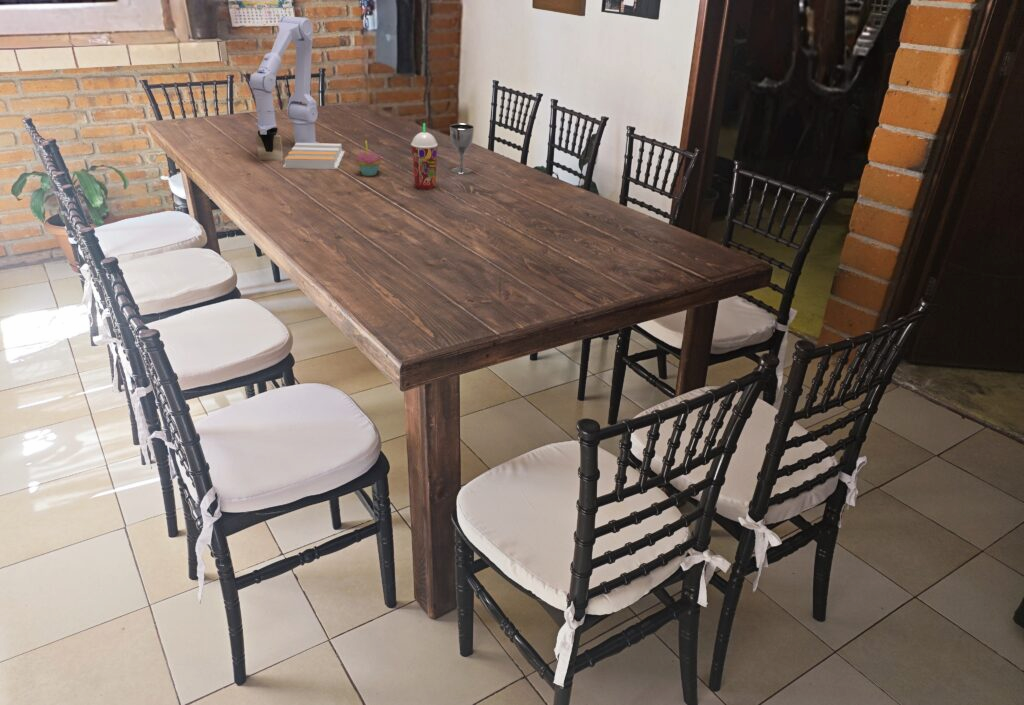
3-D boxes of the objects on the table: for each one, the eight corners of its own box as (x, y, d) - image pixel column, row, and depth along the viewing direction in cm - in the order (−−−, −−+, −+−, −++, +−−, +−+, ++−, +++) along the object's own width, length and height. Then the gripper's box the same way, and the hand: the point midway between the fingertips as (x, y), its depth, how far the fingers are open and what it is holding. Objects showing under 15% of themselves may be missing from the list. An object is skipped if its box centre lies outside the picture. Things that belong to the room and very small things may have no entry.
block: (260, 158, 262) (257, 134, 258) (283, 158, 263) (280, 135, 259) (258, 159, 260) (255, 136, 256) (282, 160, 261) (279, 136, 257)
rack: (294, 151, 271) (293, 142, 270) (344, 152, 273) (344, 143, 271) (282, 168, 253) (281, 158, 251) (337, 169, 254) (336, 159, 252)
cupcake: (379, 178, 248) (377, 141, 242) (353, 176, 248) (351, 140, 242) (383, 170, 255) (382, 134, 249) (358, 169, 255) (356, 133, 249)
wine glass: (474, 168, 262) (475, 124, 255) (471, 174, 256) (471, 129, 248) (452, 166, 263) (452, 122, 256) (448, 172, 256) (448, 128, 249)
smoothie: (433, 191, 238) (433, 127, 228) (408, 189, 239) (406, 125, 229) (441, 184, 245) (440, 121, 235) (416, 181, 246) (415, 119, 236)
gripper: (258, 105, 259) (262, 144, 266) (248, 114, 247) (253, 156, 253) (278, 106, 260) (283, 145, 266) (270, 115, 247) (275, 156, 254)
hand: (270, 150), depth 260 cm, fingers closed on block, 2 cm apart
